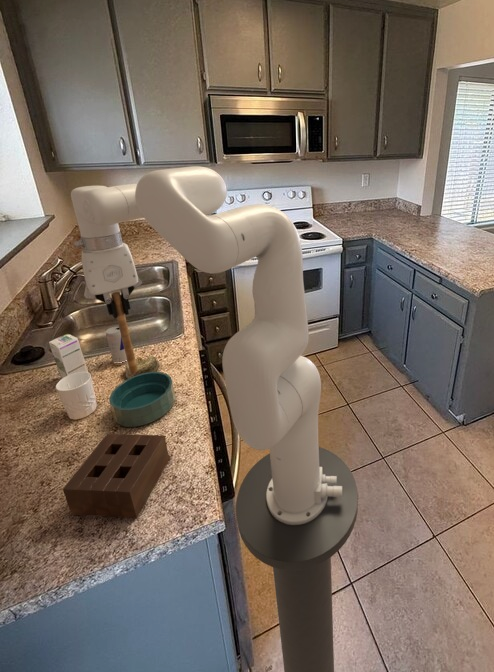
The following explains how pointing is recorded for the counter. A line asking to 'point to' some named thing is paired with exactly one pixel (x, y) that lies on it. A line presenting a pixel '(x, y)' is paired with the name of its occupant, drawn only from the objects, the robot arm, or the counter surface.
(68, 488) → the holder
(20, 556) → the counter surface
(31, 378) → the counter surface
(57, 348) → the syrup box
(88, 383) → the white cup
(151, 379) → the bowl
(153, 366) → the tan textured clump
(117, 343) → the energy drink
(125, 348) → the stick
